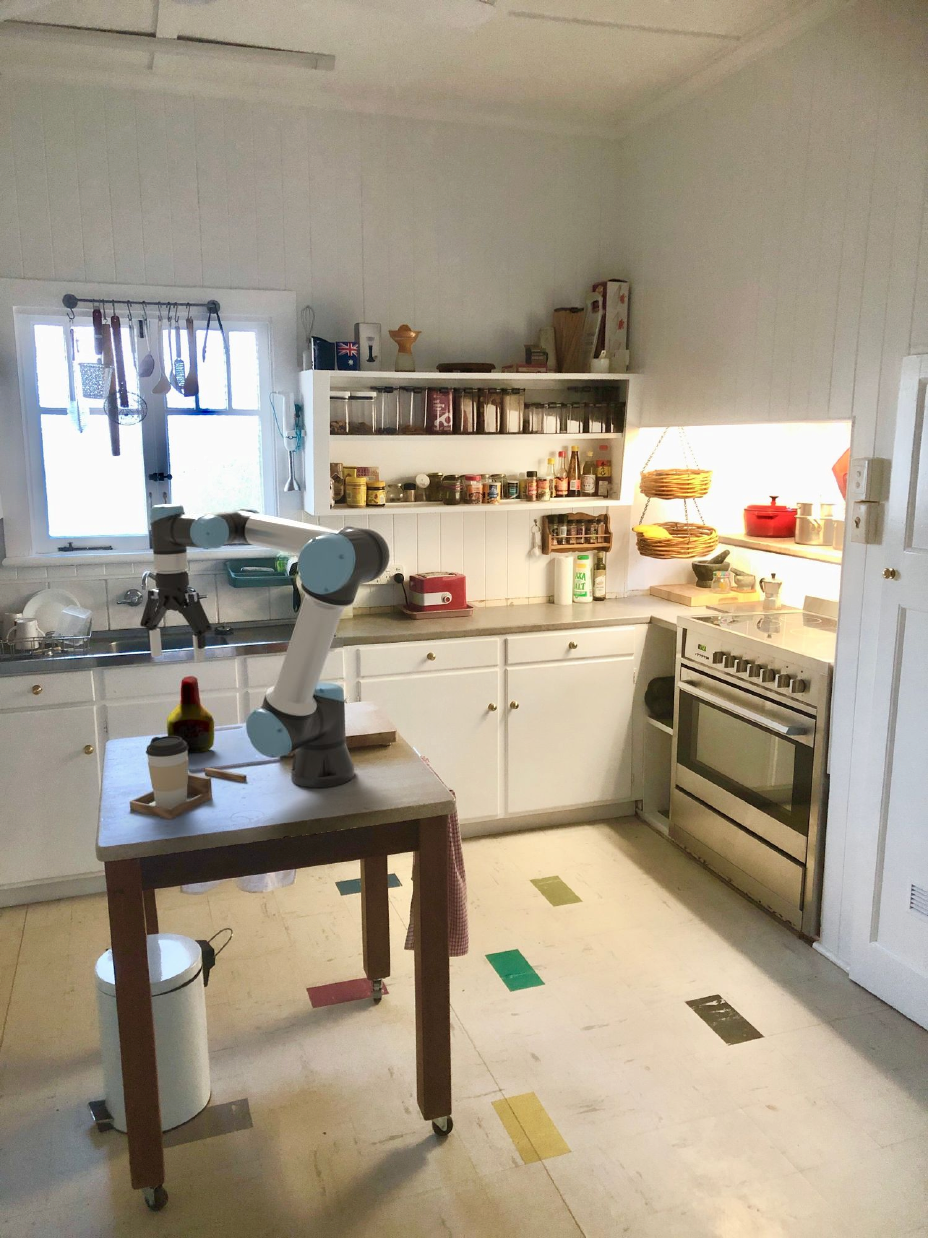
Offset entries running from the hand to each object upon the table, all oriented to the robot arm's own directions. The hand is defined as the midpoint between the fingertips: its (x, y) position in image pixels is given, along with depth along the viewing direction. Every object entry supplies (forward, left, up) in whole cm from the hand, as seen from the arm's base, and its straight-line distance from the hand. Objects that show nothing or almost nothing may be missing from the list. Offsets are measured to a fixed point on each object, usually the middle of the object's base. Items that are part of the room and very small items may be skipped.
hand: (178, 659), depth 227 cm
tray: (-11, +17, -29) cm, 35 cm away
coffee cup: (-11, +17, -28) cm, 35 cm away
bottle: (+10, -13, -29) cm, 33 cm away
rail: (-11, -1, -29) cm, 31 cm away
